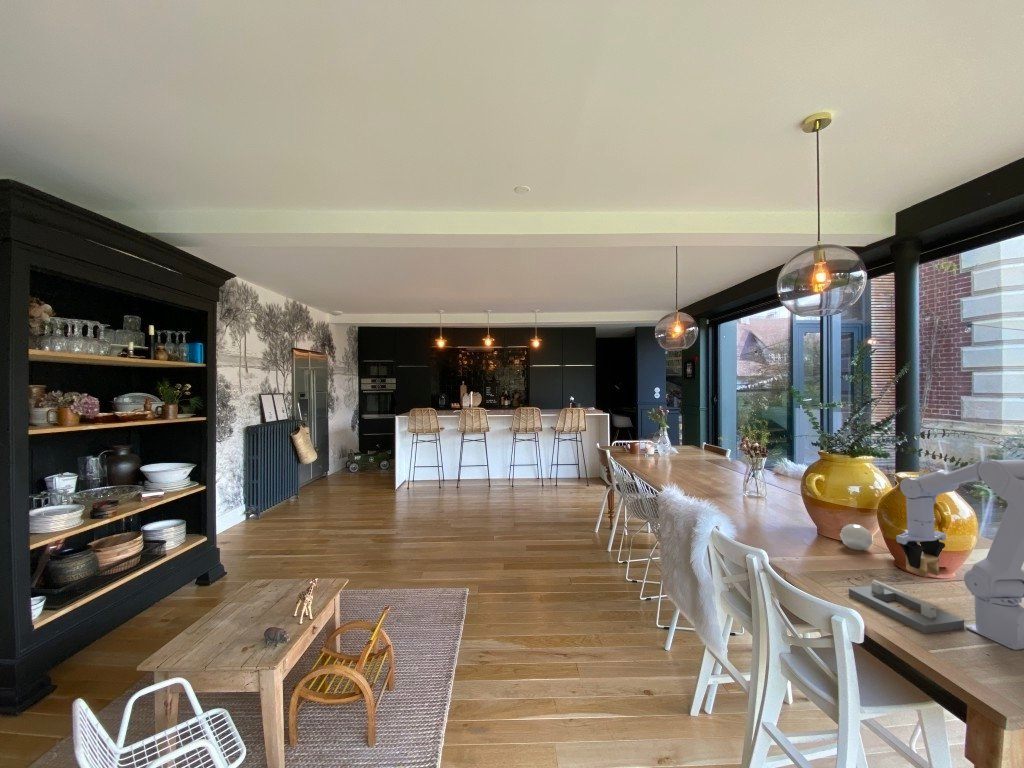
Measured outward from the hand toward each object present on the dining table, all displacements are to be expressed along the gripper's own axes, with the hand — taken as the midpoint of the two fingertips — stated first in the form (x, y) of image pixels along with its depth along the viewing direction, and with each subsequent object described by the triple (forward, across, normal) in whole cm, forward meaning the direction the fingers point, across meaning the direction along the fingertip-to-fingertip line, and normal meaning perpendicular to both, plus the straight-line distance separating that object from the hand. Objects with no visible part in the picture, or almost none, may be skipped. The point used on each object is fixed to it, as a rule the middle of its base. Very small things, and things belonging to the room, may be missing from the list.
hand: (922, 566), depth 123 cm
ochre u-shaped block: (+2, 0, 0) cm, 2 cm away
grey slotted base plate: (+9, +13, +5) cm, 17 cm away
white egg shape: (+9, -16, -36) cm, 41 cm away
